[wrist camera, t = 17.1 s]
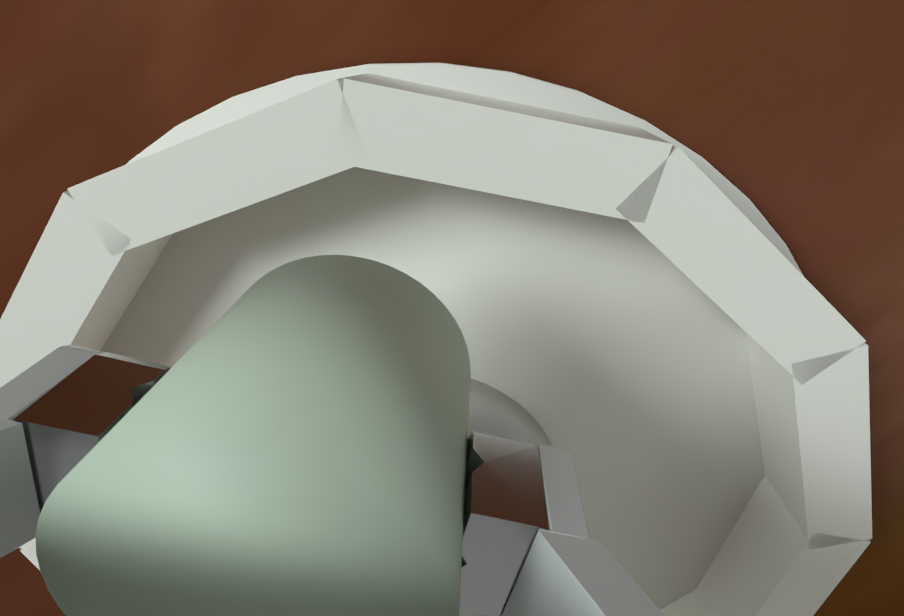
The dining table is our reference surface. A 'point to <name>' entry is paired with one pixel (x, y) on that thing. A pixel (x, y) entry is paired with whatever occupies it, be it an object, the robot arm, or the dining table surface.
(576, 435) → the groove tray
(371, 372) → the sage bead
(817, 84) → the dining table surface
